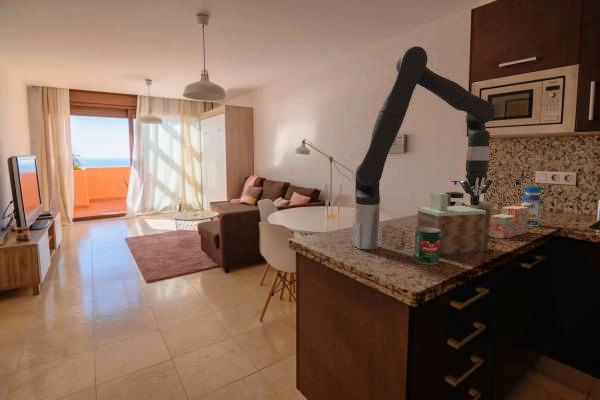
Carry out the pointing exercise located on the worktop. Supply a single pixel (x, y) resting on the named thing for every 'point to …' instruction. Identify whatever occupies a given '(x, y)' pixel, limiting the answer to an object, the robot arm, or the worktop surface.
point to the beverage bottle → (532, 204)
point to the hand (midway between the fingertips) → (474, 205)
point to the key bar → (483, 205)
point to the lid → (447, 207)
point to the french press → (455, 195)
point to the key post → (487, 223)
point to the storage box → (456, 232)
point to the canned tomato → (427, 245)
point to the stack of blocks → (509, 222)
